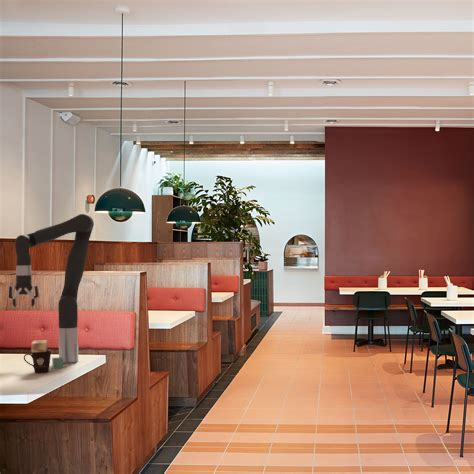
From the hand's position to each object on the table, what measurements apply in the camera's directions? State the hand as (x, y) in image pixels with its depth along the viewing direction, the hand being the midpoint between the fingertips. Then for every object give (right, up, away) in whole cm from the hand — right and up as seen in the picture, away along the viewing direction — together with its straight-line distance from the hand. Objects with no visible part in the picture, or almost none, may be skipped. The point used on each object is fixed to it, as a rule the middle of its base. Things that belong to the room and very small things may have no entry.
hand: (23, 306), depth 347 cm
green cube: (+22, -28, -17) cm, 39 cm away
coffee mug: (+16, -28, -29) cm, 43 cm away
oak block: (+16, -17, -29) cm, 37 cm away
